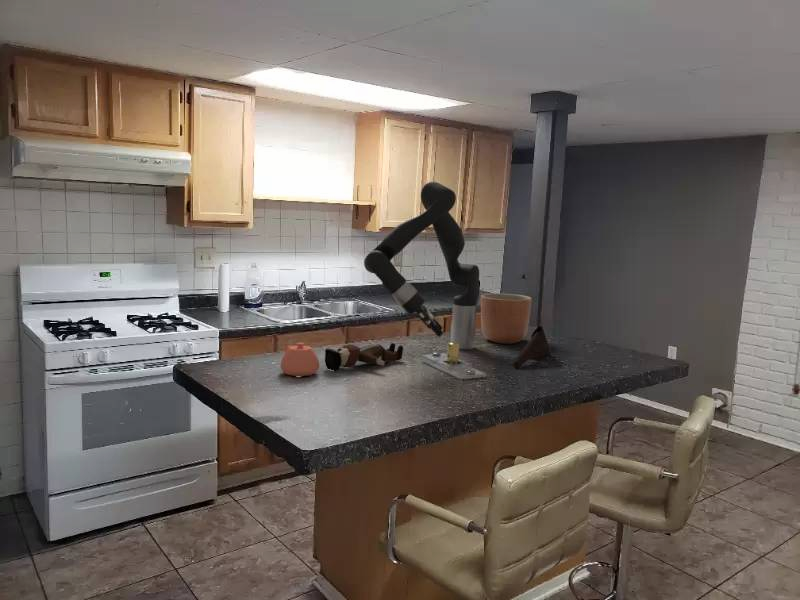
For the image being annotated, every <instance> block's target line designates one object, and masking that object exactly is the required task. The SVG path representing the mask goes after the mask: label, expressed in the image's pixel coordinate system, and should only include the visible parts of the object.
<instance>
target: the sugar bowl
mask: <svg viewBox="0 0 800 600" xmlns="http://www.w3.org/2000/svg"><path fill="white" fill-rule="evenodd" d="M280 369H281V371H282V372H283V373H284V374H285V373H286V375H288V376H295V377H296V376H302V377H303V376H305V377H306V376H313V375H314V374H316V372H317V371H318V370H319V369H320V361H319V357H318V355H317V354H316V352H315V350H314V349H313V347H311V346H309V345H305V342H296V345H287V346H286V347H285V348H284V353H283V356H282V358H281V361H280ZM312 374H313V375H312Z"/></svg>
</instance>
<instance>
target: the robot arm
mask: <svg viewBox="0 0 800 600" xmlns="http://www.w3.org/2000/svg"><path fill="white" fill-rule="evenodd" d="M456 199H457V196H456V193H455V191H454V190H452V189H450V188H449V187H447V186H446V185H444V184H441V183H439V182H437V181H428V182H427V183H425V184H424V185H423V187H422V189H421V192H420V201H421V204H422V205H423V207H424V209H425V211H423V212H421V214H419V215H417V216H415V217H412V218H409V219H407V220H405V221H404V222H401V223H399V224H397V226H395V227H394V228H393V229H392V230H391V231H390V232H389V233H388V234H387V235H386V236H385V238H383V240H382V241H381V243H379V244H378V245H377V246H376V247H375V248H374V249H373V250H371V251H370V252H369V253H367V255H366V256H365V258H364V261H363V265H364V268H365V270H366V271H367V272H368V273H371V274H374V275H376V277H377V278H378V279H379V280H380V282H381V284H382V285H383V287H384V288H385V290H387V292H388V293H389V294H390V295H391V296H392V297H393V298H394V300H395V301H396V302H397V303H398V304H399V306H401V308H402V309H403V310H404V311H405V312H406V313H407V314H408V315H413V314H415V313H416V314H417V315H416V316H417V318H418V319H419V320H420V321H422V323H423V324H424V325H425V326H426V327H427V328H428V329H429V330H431V331H432V332H433V333H434V334H435V335H436V336H437V337H441V336H442V335H443V334H444V331H443V326H442V325H441V324H440V323H439V322H438V321H437V319H436V318H435V315H434V314H433V313H432V312H431V311H430V310H429V308H427V307H425V305H424V303H426V298H424V296H423V295H422V294H421V293H420V292H419V291H418V290H417V289H416V288H415V287H414V285H413V284H411V283H410V282H409V281H408V280H407V279H406V278H405V277H404V276H403V275H402V274H401V272H399V271H398V270H397V268H396V267H395V266H394V264H393V263H392V262H391V261H392V260H393V258H394V257H395V256H397V255H398V254H399V253H401V252H402V251H403V249H405V248H406V247H407V246H408V245H409V244H410V243H411V242H412V241H413V240H414V239H415V238H416V237H417V236H418V235H420V234H421V233H422V232H424V231H425V230H426V229H428V228H429V227H430V226H432V227H433V230H434V232H435V235H436V237H437V242H438V244H439V247H440V249H441V251H442V255H443V257H444V260H445V264H446V266H447V267H446V268H447V271H448V275H449V278H450V283H451V284H452V285H453V286H454V287H457V288H466V291H465V292H464V293H463V294H459V295H455V296H454V297H453V300H452V317H451V322H450V336H449V337H450V341H449V342H456V343H459V350H473V349H475V339H476V320H477V318H476V317H477V300H478V296H479V295H478V292H479V285H480V284H479V282H480V269H479V266H478V265H477V264H472V263H471V264H470V263H469V264H468V263H461V262H459V257H460V256H461V255H462V252H463V250H464V248H465V244H466V243H465V239H464V235H463V232H462V228H461V227H460V226H459V225H460V224H458V222H457V221H456V220H455V219H454V217H453V216H452V215H451V213H450V211H452V208H454V206H455V204H456V201H457V200H456Z"/></svg>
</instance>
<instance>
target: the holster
mask: <svg viewBox="0 0 800 600" xmlns="http://www.w3.org/2000/svg"><path fill="white" fill-rule="evenodd" d="M530 337H531V338H530V340H529V341H528V342H527V344H526V345H525V346H524V347H523V349H522V350H521V351H520V353H519V354H518V356H517V358H516V359H515V361H514V362H513V366H514V368H515V369H518V368H519V369H520V368H521V366H522V365H524V364H525V363H526V362H527V361H531V360H532V361H536V360H538V359H539V361H542V359H547V358H546V357H549V358H551V357H552V350H551V347H550V345H549V342H548V339H547V337H546V333H545V331H544V327H543V326H542V325H539V326H538V327H536V329H534V331H533V332H532V334H531V336H530ZM550 356H551V357H550Z"/></svg>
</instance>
